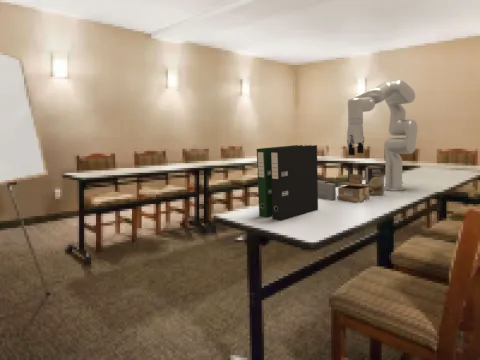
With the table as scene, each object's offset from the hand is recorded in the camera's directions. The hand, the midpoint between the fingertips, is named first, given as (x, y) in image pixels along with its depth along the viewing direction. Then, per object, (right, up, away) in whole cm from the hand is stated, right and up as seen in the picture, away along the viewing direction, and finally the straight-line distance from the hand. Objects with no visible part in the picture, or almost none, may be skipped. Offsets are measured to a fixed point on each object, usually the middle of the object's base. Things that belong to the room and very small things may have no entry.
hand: (356, 154), depth 192 cm
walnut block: (0, -16, +2) cm, 16 cm away
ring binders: (-38, -30, -19) cm, 53 cm away
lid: (0, -17, +3) cm, 17 cm away
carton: (0, -25, +4) cm, 25 cm away
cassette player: (-15, -25, +12) cm, 31 cm away
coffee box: (+16, -23, +15) cm, 31 cm away
